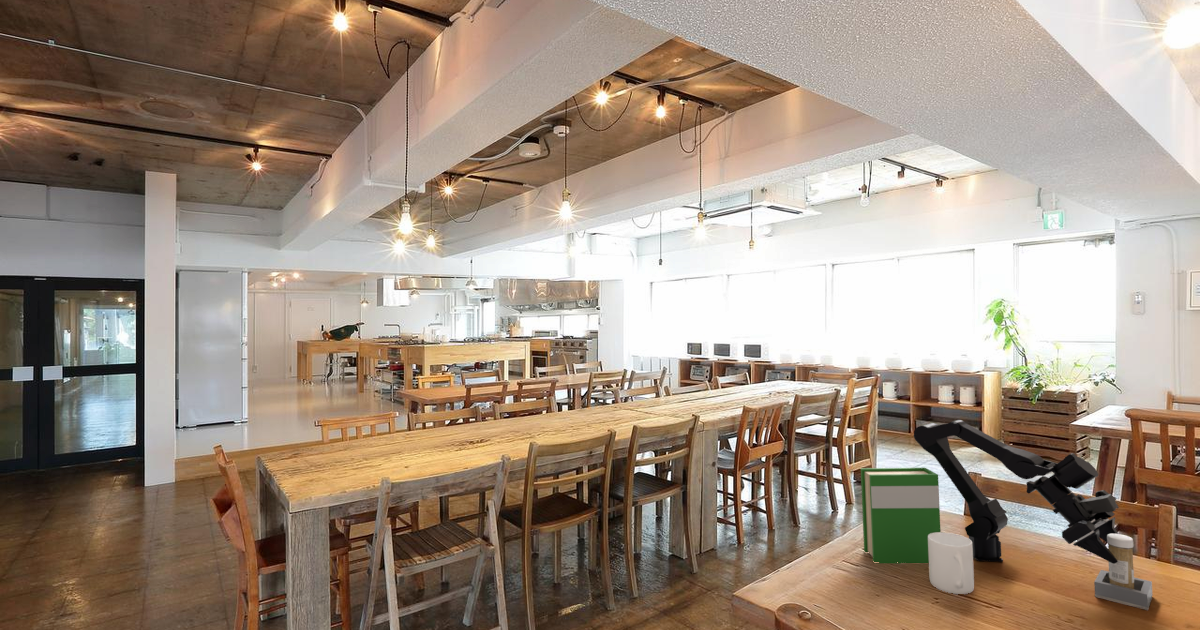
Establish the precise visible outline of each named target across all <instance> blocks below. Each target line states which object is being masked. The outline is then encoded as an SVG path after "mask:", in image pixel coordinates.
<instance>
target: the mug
mask: <svg viewBox="0 0 1200 630" xmlns="http://www.w3.org/2000/svg"><path fill="white" fill-rule="evenodd" d="M928 555H929V564H928V575H929V582H930V584H931V585H932V586H933V587H934V588H935V587H936V589H937V590H939V591H941V590H942V591H941V592H944V591H945V592H944V593H947V592H948V593H947V594H951V593H953V594H952V595H958V594H964V595H968V593H969V594H971V593H972V592H973V591H974V589H975V588H974V587H975V578H974V577H975V572H974V570H975V569H974V558H973V547H972V541H971V540H970V539H969V537H967V536H964V535H961V534H956V533H953V532H943V531H941V532H935V533H930V534H929V535H928Z"/></svg>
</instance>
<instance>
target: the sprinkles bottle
mask: <svg viewBox="0 0 1200 630" xmlns="http://www.w3.org/2000/svg"><path fill="white" fill-rule="evenodd" d="M1107 542H1108V543H1107ZM1107 542H1106V543H1107V548H1108V549H1109V550H1110V552H1111V553H1112V554H1113V555H1114V557H1115V558H1116V559H1117V561H1118V562H1117V563H1115V564H1113V563H1111V562H1109V561H1108V571H1109V578H1110V584H1114V585H1118V586H1122V587H1126V588H1130V589H1134V577H1135V569H1134V560H1133V559H1134V555H1133V553H1134V551H1133V549H1134V538H1132V537H1130V536H1129V535H1126V534H1119V533H1118V534H1108V535H1107Z"/></svg>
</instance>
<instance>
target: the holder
mask: <svg viewBox="0 0 1200 630" xmlns="http://www.w3.org/2000/svg"><path fill="white" fill-rule="evenodd" d="M1093 583H1094V586H1093V587H1094V597H1095V598H1099V599H1104V600H1107V601H1110V602H1114V603H1117V604H1121V605H1125V606H1129V607H1134V608H1136V609H1137V608H1138V609H1142V610H1145V611H1149V609H1150V606H1151V602H1152V599H1153V597H1152V596H1154V595H1153V582H1152V580H1147V579H1143V578H1138V577H1135V576H1134V589H1130V588H1126V587H1122V586H1118V585H1114V584H1110V578H1109V570H1104V569H1100V571H1099V573H1098V574H1097V577H1096V578H1095V580H1094V582H1093Z"/></svg>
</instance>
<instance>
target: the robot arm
mask: <svg viewBox="0 0 1200 630" xmlns="http://www.w3.org/2000/svg"><path fill="white" fill-rule="evenodd" d="M953 436H955V437H957V438H958V439H961V440H962V441H964V442H966V443H968V444H970V445H971V446H974V447H975V448H977V449H979V450H981V451H982V452H984V453H986V454H988V455H990V456H992V457H993V458H995V459H997V460H998V461H1000V463H1002V464H1003V466H1004V467H1005V468H1006V469H1007V470H1008V471H1010V472H1011V473H1013V474H1014V475H1015V476H1017V477H1018V478H1021V479H1023V480H1028V481H1027V482H1026V494H1031V493H1033V492H1035V491H1037V492H1038V494H1039V495H1040V496H1042V497H1043V498H1044V500H1046V501H1047V502H1048V503H1049V504H1050V505H1051V507H1053V510H1052V512H1053V513H1054V514H1055V515H1056V514H1060V516H1062V517H1063V518H1064V519H1065V521H1067V522H1068V524H1067V528H1066V529H1065V528H1064V530H1062V532H1061V535H1062V536H1061V537H1062V539H1063V540H1064V541H1066V542H1067V544H1068V545H1071V544H1072V543H1073V544H1072V545H1073V546H1075V547H1078V548H1081V549H1083V550H1085V551H1087V552H1089V553H1091V554H1093V555H1095V556H1097V557H1099V558H1101V559H1103V560H1106V561H1107V562H1108V563H1109V562H1111V563H1113V564H1115V563H1117V562H1118V561H1117V559H1116V558H1115V557H1114V555H1113V554H1112V553H1111V552H1110V550H1109V549H1108V546H1106V544H1105V543H1104V542H1103V541H1105V542H1106V543H1107V544H1108V542H1107V535H1108V534H1119V533H1118V531H1117V529H1116V528H1115V524H1116V523H1115V521H1116V517H1115V516H1114V515H1115V513H1114V512H1115V511H1116V509H1119V506H1118V504H1117V502H1116V500H1117V498H1116V496H1113V494H1112V493H1109V492H1107V490H1105V489H1103V490H1102V489H1101V490H1097V491H1095V495H1094V496H1092V497H1090V498H1086V497H1084V496H1083V495H1081V494H1077V495H1076V494H1075V493H1074V492H1073V491H1072V490H1071V489H1070V488H1073V489H1075V490H1077V489H1078V490H1079V489H1080V488H1081V487H1083V486H1084V485H1086V484H1087V483H1089V482H1090V481H1092V480H1094V479H1096V478H1097V477H1098V476H1099V472H1098V471H1097V469H1096V468H1095V466H1093V465H1092V463H1090V462H1089V461H1086V460H1085V459H1084V458H1082V457H1079V456H1077V455H1076V454H1075V453H1073V452H1072V453H1071V452H1070V453H1069V454H1068V455H1066V456H1065V457H1064V458H1063V459H1062V460H1060V461H1059V462H1058V463H1057V462H1053V461H1051V460H1046V459H1044V458H1043V457H1041V456H1040V455H1039V454H1036V453H1034V452H1031V451H1028V450H1025V449H1022V448H1017V447H1014V446H1011V445H1008V444H1006V443H1004V442H1002V441H1000V440H999V439H997V438H994V437H993V436H991V435H989V434H987V433H985V432H983V431H981V430H980V429H977V428H975V427H974V426H972V425H970V424H968V423H967V422H965V421H964V420H962V419H957V420H952V421H950V422H947V423H944V424H943V423H942V424H938V423H933V422H930V423H926V424H922V425H919V426H917V427H915V429H914V431H913V438H914V440H915V441H916V443H917V444H918V445H919V446H920V447H921V448H922V449H923V450H924V451H926V452H927V453H928V454H930V455H932V457H934V458H935V459H936V461H937V462H938V464H939V465H940V467H941V468H942V469H943V471H944V472H945V474H946V475H947V477H948V478H949V479H950V480H951V482H952V483H953V486H955V488H956V489H957V490H958V492H959V493H960V495H961V496H962V498H963V499H964V500H965V502H966V503H967V507H968V511H969V512H968V513H969V516H970V518H971V519H972V521H973V522H972V523H969V524H968V525H967V526H965V527H964V530H965V532H966V535H967V536H968V538H969V539H970V540H971V541H972V547H973V559H974V560H975V561H977V562H999V563H1000V562H1001V563H1002V562H1004V559H1003V558H1001V557H1002V543H1001V541H1000V538H999V537H1000V536H998V534H1000V532H1001V530H1003V529H1004V528H1005V527H1006V526H1007V525H1008V520H1009V519H1008V518H1009V517H1008V516H1007V514H1006V513H1008V512H1007V510H1005V509H1004V508H1003V507H1002V505H1001V504H1000V502H999V501H998V499H997V498H994V499H989V498H988V497H987V496H985V495H984V493H983V492H982V491H981V489H980V488H979V487H978V486H977V484H976V482H975V481H974V480H973V479H972V477H971V476H970V474H969V473H968V472H967V470H966V469H965V468H964V466H963V465H962V463H961V462H960V460H959V459H958V458H957V456H956V455H955V453H954V452H953V451H952V449H951V447H950V442H949V439H948V438H949V437H953ZM1051 473H1053V474H1052V475H1050V476H1049V477H1048V476H1046V475H1049V474H1051ZM1036 477H1039V478H1037V479H1036V480H1034V481H1031V480H1030V479H1033V478H1036ZM1109 518H1110V519H1109ZM1102 540H1103V541H1102Z"/></svg>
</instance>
